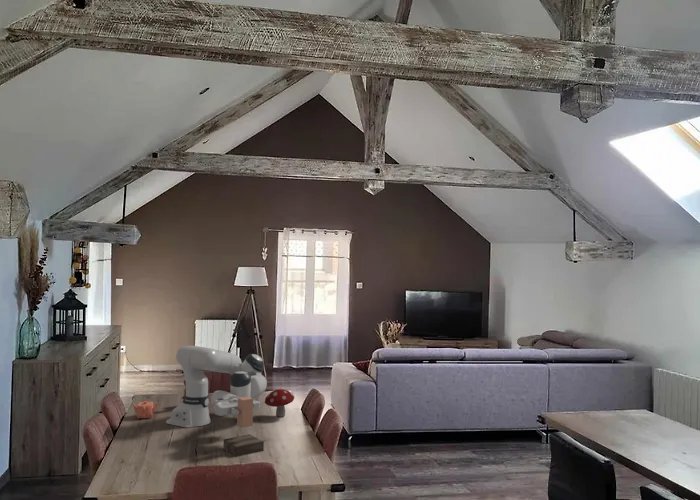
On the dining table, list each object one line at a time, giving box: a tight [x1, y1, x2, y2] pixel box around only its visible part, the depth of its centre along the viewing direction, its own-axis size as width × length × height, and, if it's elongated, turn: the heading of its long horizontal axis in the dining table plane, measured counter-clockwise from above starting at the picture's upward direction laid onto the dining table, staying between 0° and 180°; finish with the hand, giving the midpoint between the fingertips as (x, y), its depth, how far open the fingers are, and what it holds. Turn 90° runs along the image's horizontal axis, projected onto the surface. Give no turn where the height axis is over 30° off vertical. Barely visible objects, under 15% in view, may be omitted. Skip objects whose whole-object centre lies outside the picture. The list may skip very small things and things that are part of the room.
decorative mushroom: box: [264, 388, 295, 417], centre depth 320 cm, size 16×16×15 cm
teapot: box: [130, 400, 160, 419], centre depth 316 cm, size 12×15×8 cm
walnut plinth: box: [223, 433, 265, 457], centre depth 267 cm, size 13×13×4 cm
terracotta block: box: [236, 397, 254, 429], centre depth 266 cm, size 5×5×12 cm
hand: (246, 411), depth 266 cm, fingers closed on terracotta block, 5 cm apart
